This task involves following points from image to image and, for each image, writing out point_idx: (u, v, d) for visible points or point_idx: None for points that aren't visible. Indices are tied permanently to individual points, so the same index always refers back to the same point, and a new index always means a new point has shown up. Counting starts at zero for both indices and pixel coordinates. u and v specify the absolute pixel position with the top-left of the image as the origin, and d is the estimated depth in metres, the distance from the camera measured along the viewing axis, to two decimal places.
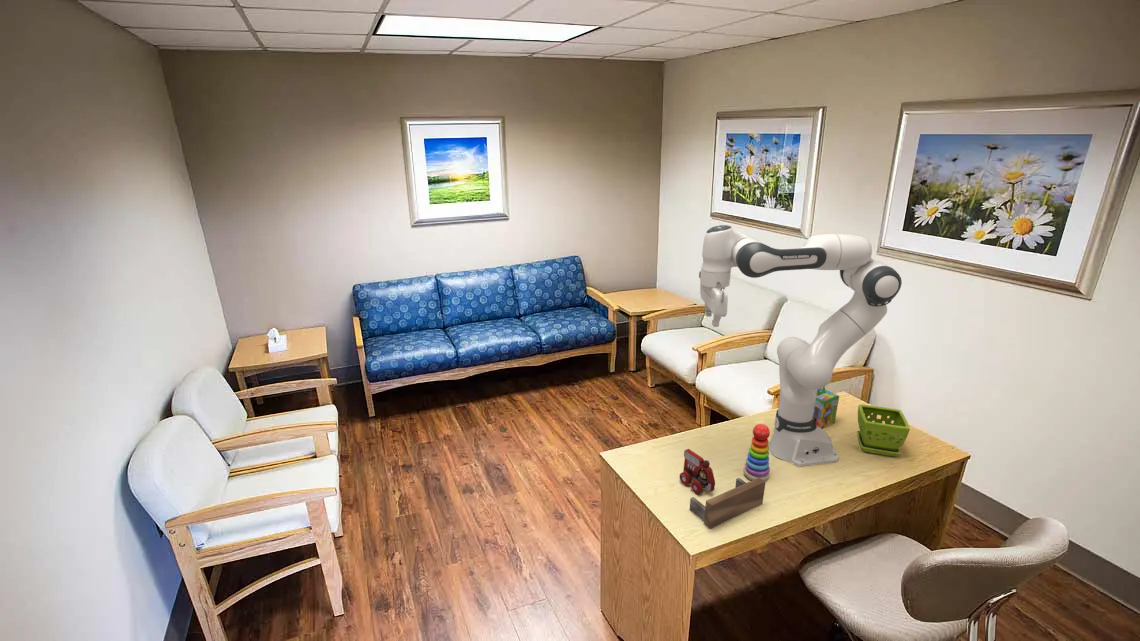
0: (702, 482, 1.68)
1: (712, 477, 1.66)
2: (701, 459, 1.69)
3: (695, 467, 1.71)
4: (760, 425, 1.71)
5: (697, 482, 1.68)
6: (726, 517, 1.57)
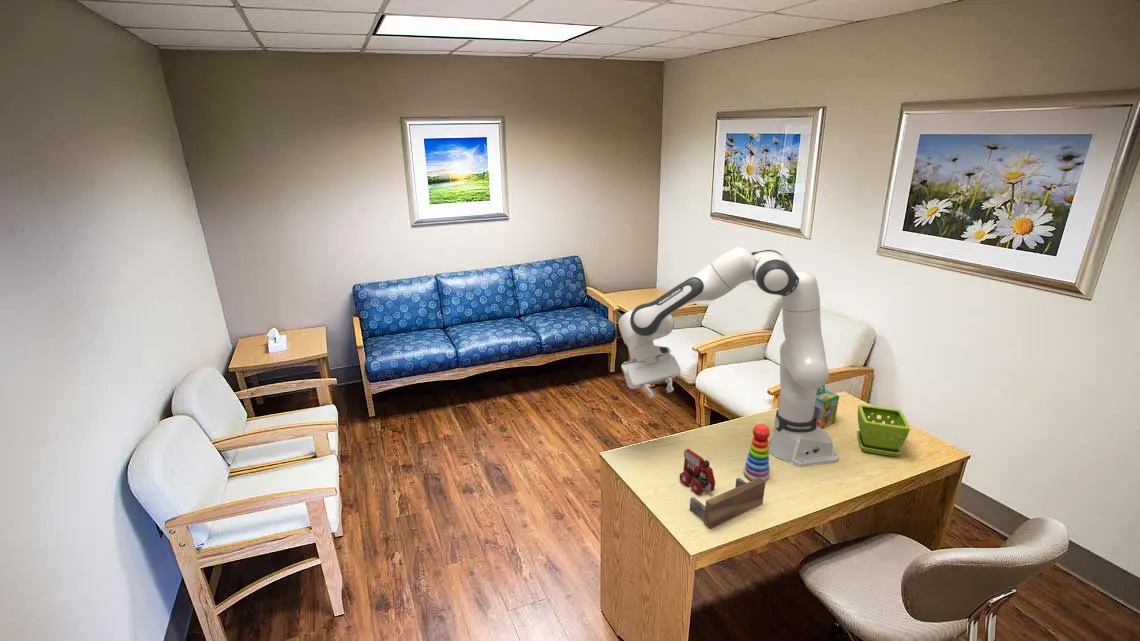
0: (702, 482, 1.68)
1: (712, 477, 1.66)
2: (701, 459, 1.69)
3: (695, 467, 1.71)
4: (760, 425, 1.71)
5: (697, 482, 1.68)
6: (726, 517, 1.57)
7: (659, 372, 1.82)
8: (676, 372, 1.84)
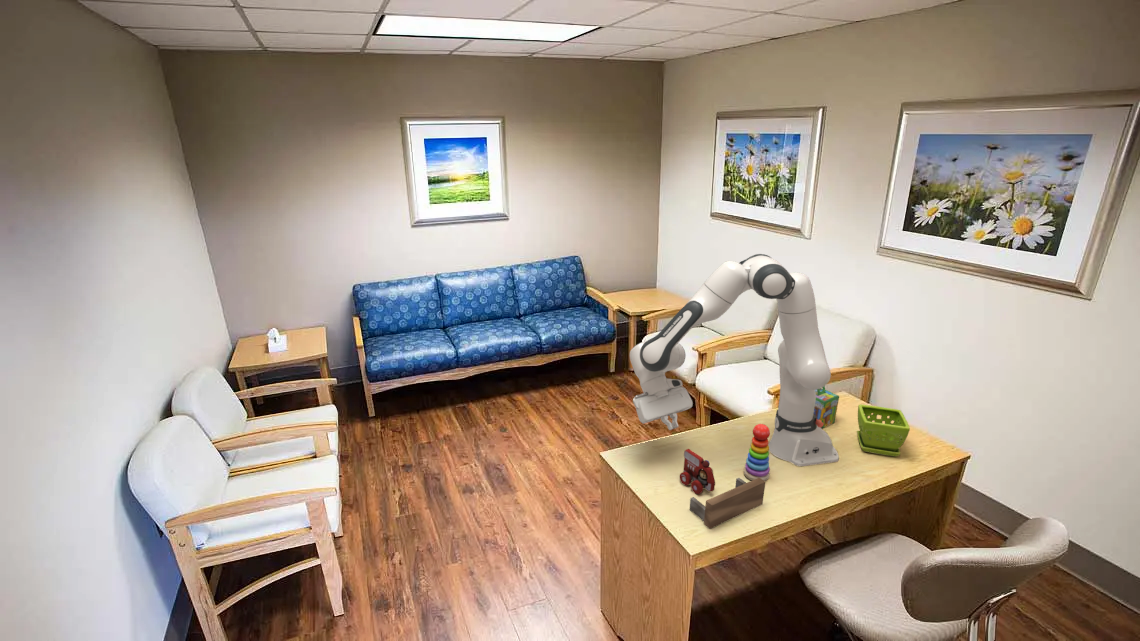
0: (702, 482, 1.68)
1: (712, 477, 1.66)
2: (701, 459, 1.69)
3: (695, 467, 1.71)
4: (760, 425, 1.71)
5: (697, 482, 1.68)
6: (726, 517, 1.57)
7: (671, 405, 1.79)
8: (688, 405, 1.82)
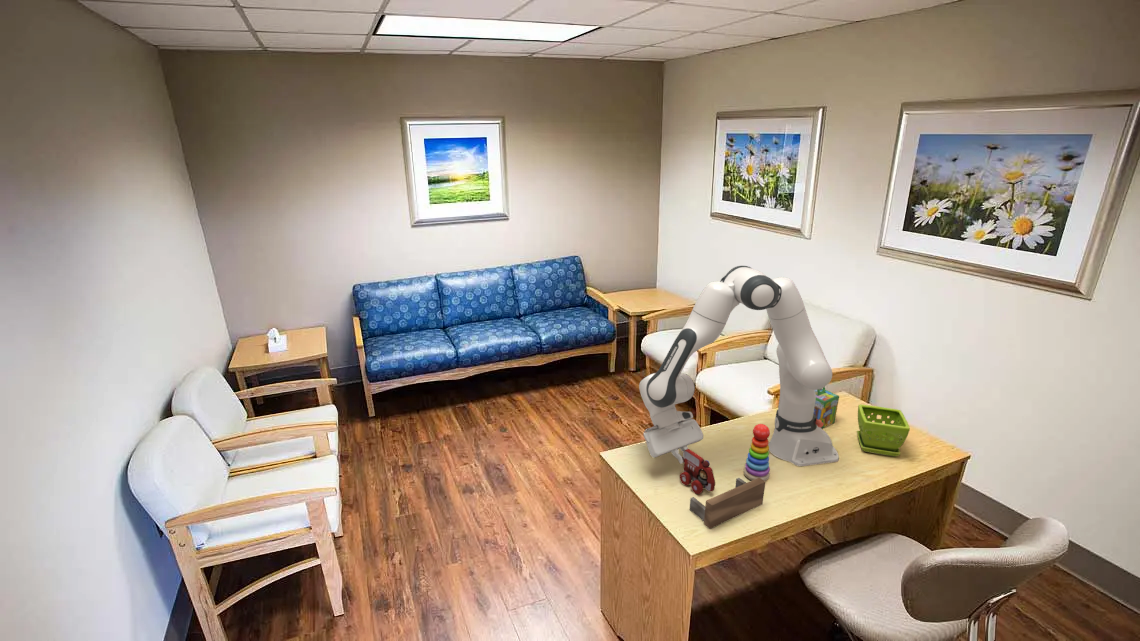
0: (702, 482, 1.68)
1: (712, 477, 1.66)
2: (701, 459, 1.69)
3: (695, 467, 1.71)
4: (760, 425, 1.71)
5: (697, 482, 1.68)
6: (726, 517, 1.57)
7: (681, 439, 1.78)
8: (699, 438, 1.80)
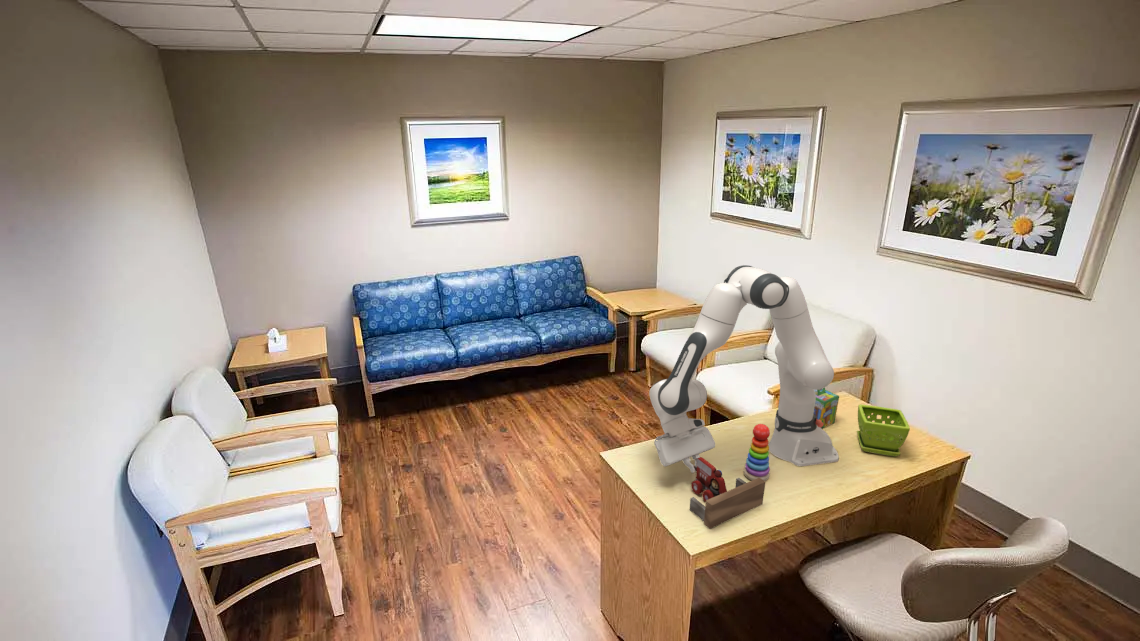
0: (714, 492, 1.64)
1: (724, 487, 1.61)
2: (713, 468, 1.64)
3: (707, 477, 1.66)
4: (760, 425, 1.71)
5: (708, 492, 1.63)
6: (726, 517, 1.57)
7: (693, 447, 1.73)
8: (711, 446, 1.76)
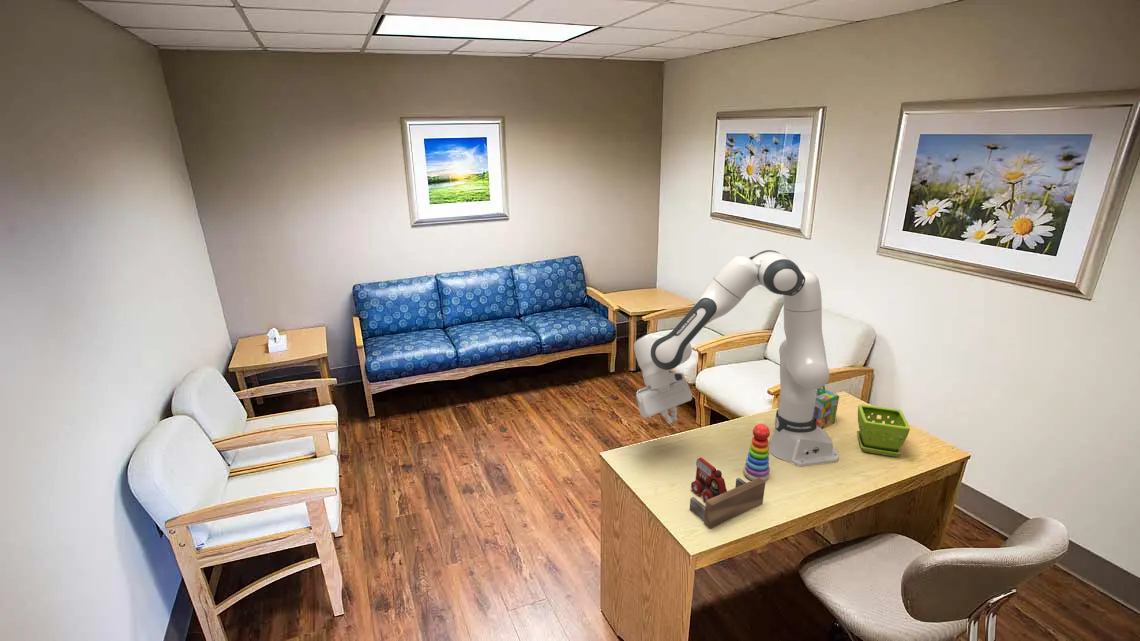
0: (714, 492, 1.64)
1: (724, 488, 1.62)
2: (713, 468, 1.64)
3: (707, 477, 1.66)
4: (760, 425, 1.71)
5: (708, 492, 1.63)
6: (726, 517, 1.57)
7: (672, 400, 1.80)
8: (688, 399, 1.83)
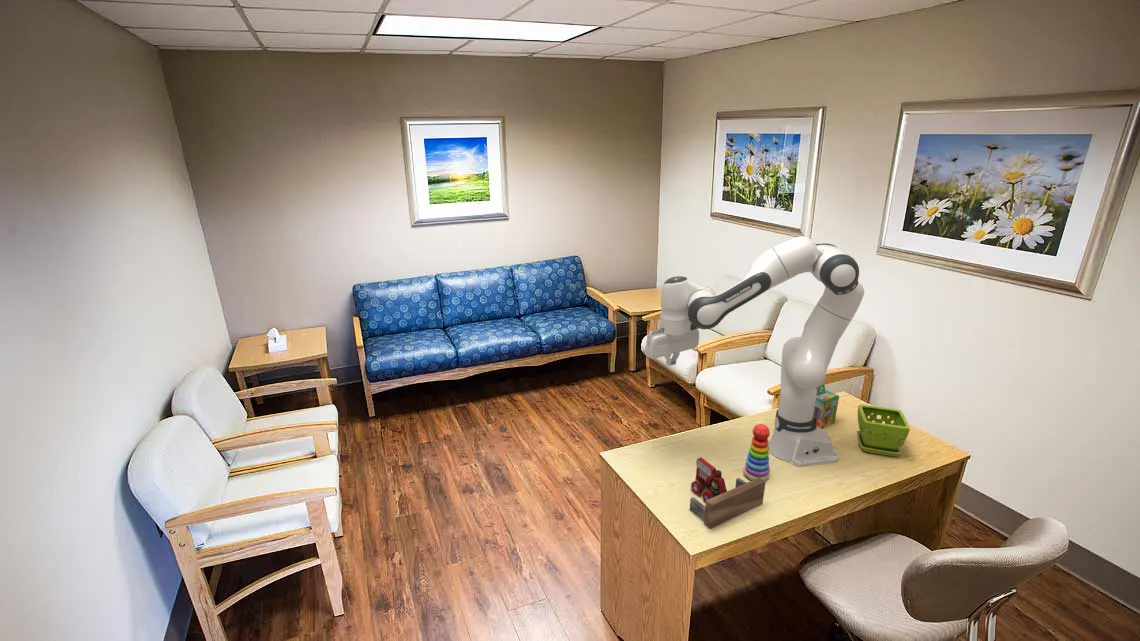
0: (714, 492, 1.64)
1: (724, 488, 1.62)
2: (713, 468, 1.64)
3: (707, 477, 1.66)
4: (760, 425, 1.71)
5: (708, 492, 1.63)
6: (726, 517, 1.57)
7: (678, 346, 1.81)
8: (693, 347, 1.84)
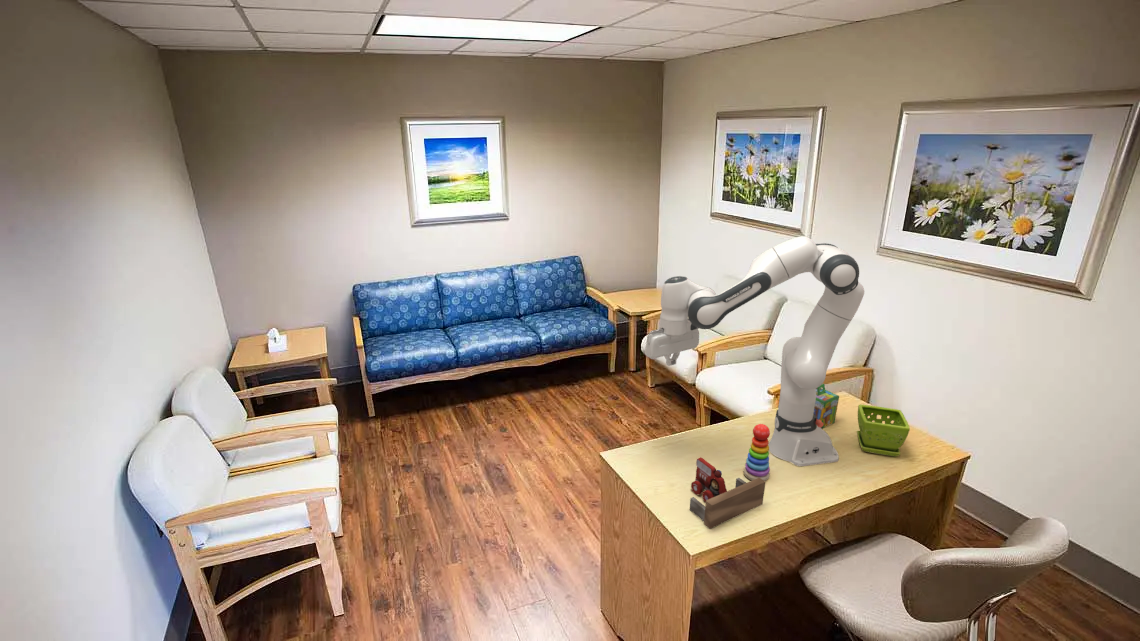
0: (714, 492, 1.64)
1: (724, 488, 1.62)
2: (713, 468, 1.64)
3: (707, 477, 1.66)
4: (760, 425, 1.71)
5: (708, 492, 1.63)
6: (726, 517, 1.57)
7: (678, 346, 1.81)
8: (693, 347, 1.84)
